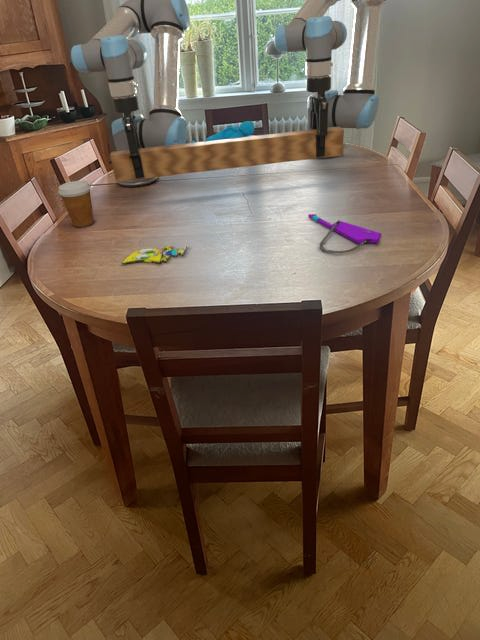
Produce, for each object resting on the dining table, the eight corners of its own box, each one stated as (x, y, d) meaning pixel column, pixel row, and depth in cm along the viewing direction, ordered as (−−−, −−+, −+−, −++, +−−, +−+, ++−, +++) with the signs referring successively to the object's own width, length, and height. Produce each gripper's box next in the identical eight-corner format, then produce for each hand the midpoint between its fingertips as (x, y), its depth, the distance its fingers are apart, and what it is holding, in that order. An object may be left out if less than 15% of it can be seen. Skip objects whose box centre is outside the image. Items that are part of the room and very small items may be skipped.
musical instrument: (364, 263, 114) (392, 222, 127) (364, 255, 113) (391, 215, 125) (276, 252, 127) (309, 216, 139) (275, 245, 126) (308, 210, 138)
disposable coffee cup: (61, 227, 148) (50, 189, 141) (80, 216, 155) (71, 179, 149) (86, 230, 145) (76, 191, 138) (105, 218, 152) (96, 180, 145)
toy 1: (178, 260, 119) (121, 261, 122) (179, 264, 120) (122, 264, 122) (187, 243, 128) (133, 244, 130) (187, 246, 128) (134, 247, 131)
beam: (115, 181, 153) (110, 155, 148) (116, 177, 156) (111, 151, 152) (342, 155, 158) (344, 129, 154) (338, 152, 162) (339, 126, 157)
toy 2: (193, 134, 218) (255, 115, 207) (201, 157, 223) (262, 139, 212) (182, 144, 204) (248, 123, 194) (191, 168, 209) (255, 149, 199)
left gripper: (136, 100, 135) (151, 181, 148) (138, 90, 149) (152, 165, 162) (109, 103, 134) (127, 184, 147) (114, 93, 149) (130, 168, 162)
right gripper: (339, 78, 139) (337, 160, 152) (322, 71, 153) (321, 146, 167) (314, 81, 139) (314, 163, 152) (299, 74, 153) (300, 149, 166)
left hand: (140, 174), depth 155 cm, fingers closed on beam, 4 cm apart
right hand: (318, 154), depth 159 cm, fingers closed on beam, 4 cm apart
